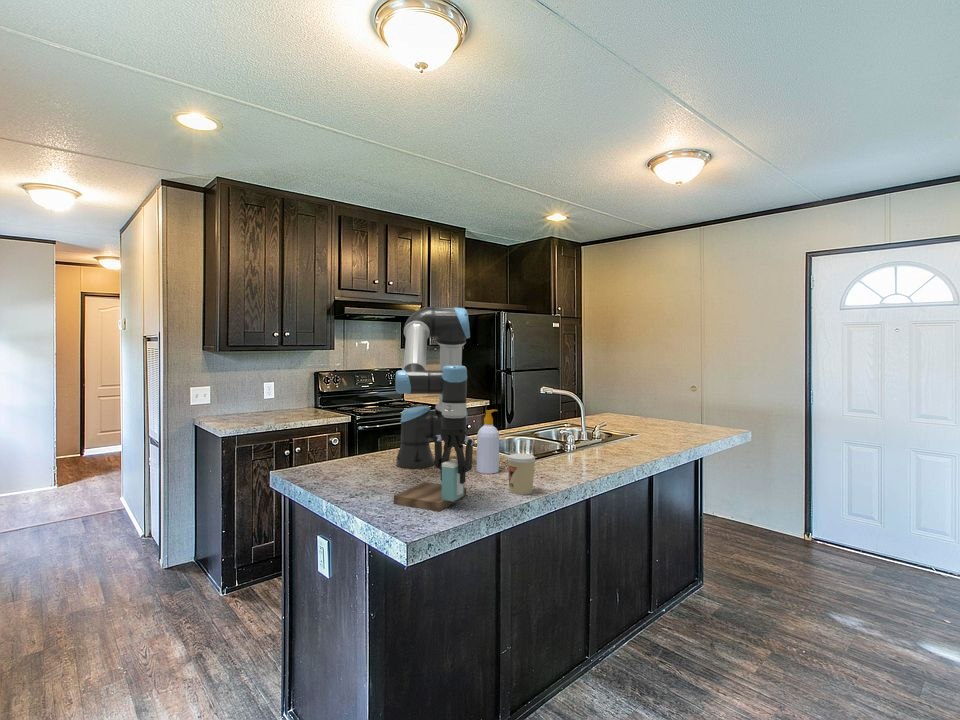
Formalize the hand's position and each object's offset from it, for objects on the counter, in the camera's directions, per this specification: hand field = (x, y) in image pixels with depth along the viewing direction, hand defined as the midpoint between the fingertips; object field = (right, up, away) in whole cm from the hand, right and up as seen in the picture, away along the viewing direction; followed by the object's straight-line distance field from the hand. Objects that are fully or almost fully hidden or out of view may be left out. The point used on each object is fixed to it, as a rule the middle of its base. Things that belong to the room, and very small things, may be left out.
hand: (452, 492), depth 158 cm
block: (0, -2, 0) cm, 2 cm away
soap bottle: (+11, -3, +44) cm, 45 cm away
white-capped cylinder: (+22, -4, +17) cm, 28 cm away
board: (-7, -4, +6) cm, 10 cm away
